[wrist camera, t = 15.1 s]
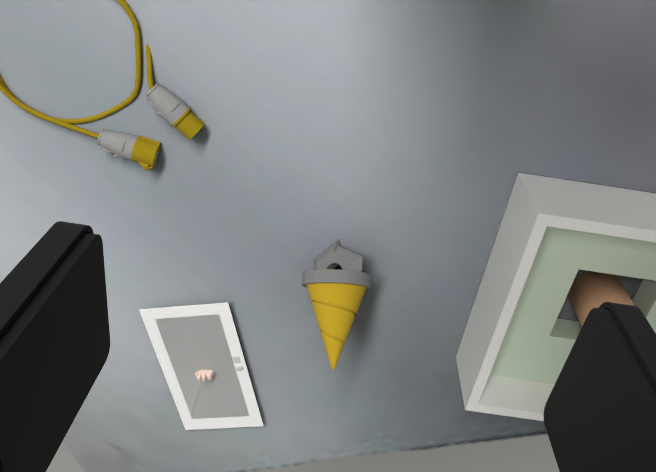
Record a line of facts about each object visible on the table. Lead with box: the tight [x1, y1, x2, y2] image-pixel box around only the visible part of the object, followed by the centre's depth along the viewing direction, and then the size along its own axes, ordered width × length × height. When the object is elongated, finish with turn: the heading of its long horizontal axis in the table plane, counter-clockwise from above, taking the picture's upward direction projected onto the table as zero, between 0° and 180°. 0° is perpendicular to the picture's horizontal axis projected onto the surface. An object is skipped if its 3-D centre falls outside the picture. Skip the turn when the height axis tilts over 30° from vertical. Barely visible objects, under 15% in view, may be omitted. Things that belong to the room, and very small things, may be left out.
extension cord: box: [0, 0, 204, 170], centre depth 40 cm, size 12×16×2 cm
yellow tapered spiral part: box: [302, 239, 372, 370], centre depth 45 cm, size 5×5×10 cm
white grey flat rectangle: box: [139, 302, 264, 430], centre depth 53 cm, size 8×15×2 cm, turn 8°
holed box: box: [456, 173, 656, 421], centre depth 44 cm, size 18×18×6 cm
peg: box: [568, 271, 635, 326], centre depth 43 cm, size 4×4×9 cm
